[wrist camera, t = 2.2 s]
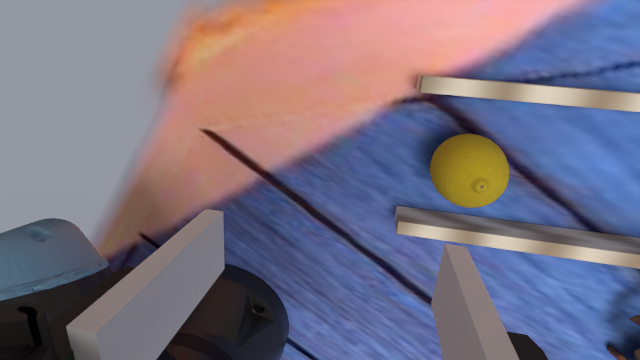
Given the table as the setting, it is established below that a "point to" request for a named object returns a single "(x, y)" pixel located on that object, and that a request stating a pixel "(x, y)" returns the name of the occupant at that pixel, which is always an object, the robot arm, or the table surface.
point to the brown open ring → (638, 353)
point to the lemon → (469, 170)
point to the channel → (520, 233)
